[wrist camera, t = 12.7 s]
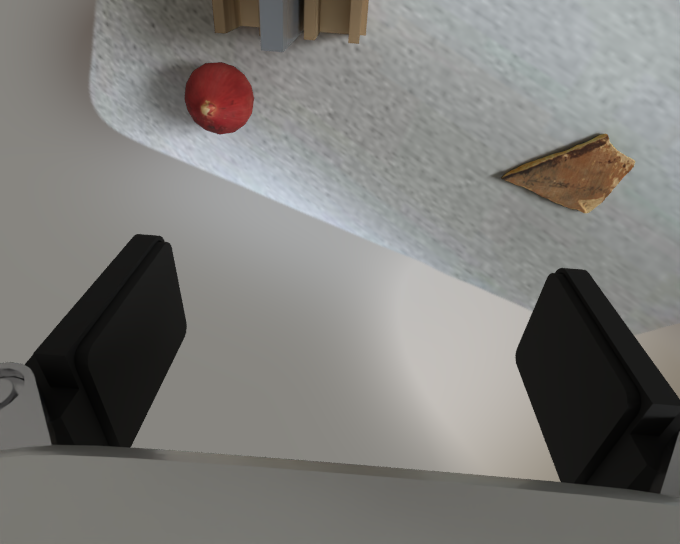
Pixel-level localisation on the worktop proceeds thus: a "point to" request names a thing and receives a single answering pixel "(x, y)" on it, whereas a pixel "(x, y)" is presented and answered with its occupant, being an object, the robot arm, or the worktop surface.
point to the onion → (219, 97)
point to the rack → (319, 16)
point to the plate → (280, 23)
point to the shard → (575, 174)
